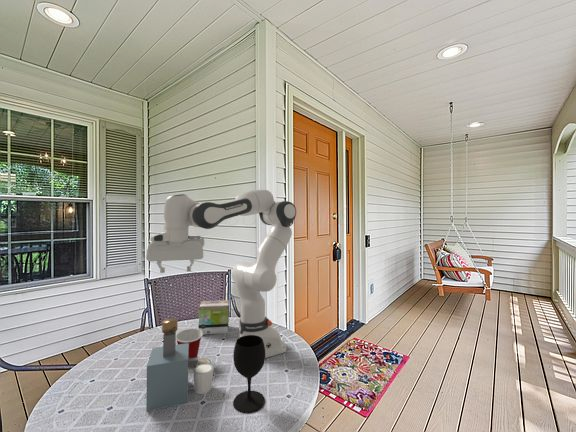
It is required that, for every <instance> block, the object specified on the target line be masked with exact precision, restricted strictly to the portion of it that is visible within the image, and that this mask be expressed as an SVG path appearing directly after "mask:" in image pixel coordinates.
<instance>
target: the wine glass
mask: <svg viewBox="0 0 576 432" xmlns="http://www.w3.org/2000/svg"><path fill="white" fill-rule="evenodd" d="M239 337H240V336H239ZM239 337H238V338H237V339H236V341H235V345H234V348H233V355H232V356H233V357H232V358H233V359H232V360H233V364H234V368H235V370H236V371H237V373H238V374H240V375H241V376H242V377H244V378H246V381H247V390H245V391H242V392H239V393H238V394H237V395H236V396H235V397H234V398H233V402H232V405H233V408H234V409H235V410H236V411H237V412H239V413H242V414H252V413H256V412H258V411H259V410H261V409H262V408H263V407H264V405H265V402H266V400H265V396H264V395H263V394H262V393H261V392H259V391H257V390H251V386H252V378H254V377H256V376H257V375H258V374H259V373H260V372H261V370H262V369H263V367H264V365H265V361H266V358H265V346H264V342H263V339H262V338H261V337H259V336H256V335H246V336H242V337H240V338H239Z"/></svg>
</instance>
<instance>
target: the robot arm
mask: <svg viewBox="0 0 576 432" xmlns="http://www.w3.org/2000/svg"><path fill="white" fill-rule="evenodd" d="M274 198H275V197H274V196H273V194H272V192H271V191H269V190H268V189H255V190H248V191H245V192H242V193H239V194H237V195H236V197H235V198H234V200H232V201H228V202H224V203H215V202H210V201H209V202H207V201H206V202H202V203H200V202H198V201H195V200H193V199H192V198H190V197H189V196H188V195H187V194H184V193H183V194H182V193H181V194H173V195H169V196H167V197H166V199H165V202H164V209H163V210H164V211H163V218H164V226H163V232H158V233H156V234H153V235H151V236H150V239H149V240H150V242H149V244H148V246H147V249H146V257H145V258H146V260H147V261H148V262H156V265H157V266H158V267H159V273H160V274H164V273H166V272H165V271H166V268H165V267H163V266H162V262H168V261H170V262H171V261H189V262H190V264H189V265H187V266H186V272H191V271H192V267H193V265H194V262H195V261H196V260H202V259H203V258H204V248H203V247H204V246H205V238H204V237H202V236H201V235H189V227H190V226H192V227H195V228H202V229H205V230H210V229H214V228H216V227H217V226H218V225H220V223H222V222H224V221H225V220H228V219H231V218H234V217H238V216H245V217H247V216H252V215H256V214H258V215H259V218H260V221H261V222H262V223H263V224H264V225H268V226H271V227H270V230H269V232H268V233H267V234H266V236H265V237H264V239H263V240H262V241H261V244H260V245H259V246H258V248H257V252H256V253H257V256H258V257H257V259H256V261H255V263H252V262H248V261H247V262H246V261H245V262H240V263H237V264H235V265H234V266H233V268H232V271H231V278H232V281H233V282H234V283H235V286H236V288H237V292H238V298H239V303H240V318H239V323H238V331H239V337H238V338H240V337H242V336H246V335H256V336H259V337H261V338H262V339H263V342H264V346H265V359H267V358H271V357H274V356H277V355H280V354H283V353H284V354H285V353H286V352H287V344H286V343H285V342H284V341H283V340H282V339H281V338H282V337H281V335H280V333H279V332H278V331H277V329H275V328H274V327H273V326H272V325H273V322H272V321H271V320H270V319H269V318H268V317H267V316H266V302H265V299H264V297H263V296H262V292H263V293H264V292H270V291H272V290H273V289H274V287H275V286H276V283H277V274H276V267H277V264H278V261H279V259H280V258H281V256H282V254H283V253H284V251H285V249H286V247H287V246H288V244H289V242H290V241H291V237H292V235H293V231H292V228H291V226H292V225H293V224H294V222H295V219H296V216H297V207H296V205H295V204H294V203H293V202H291V201H289V200H283V201H277V202H276V201H275V200H274Z"/></svg>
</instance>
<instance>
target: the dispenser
mask: <svg viewBox="0 0 576 432" xmlns="http://www.w3.org/2000/svg"><path fill="white" fill-rule="evenodd" d="M176 332H177V331H175V332H173V333H172V334H169V335H167V333H163V336H162V337H163V338H162V339H163V342H162V345H163V346H159V347H152V349H151V352H150V355H149V359H148V362H147V363H146V364H147V365H146V395H145V396H146V401H145V402H146V405H145V406H146V407H145V408H146V409H145V410H146V412H150V411H155V410H159V409H163V408H168V407H169V408H170V407H174V406H178V405H183V404H188V403H189V400H188V399H189V367H192V368H193V369H194V368H197V366H198V362H199V361H198V356H197V357H195V358H189V343H185V344H178V343H177V340H176V334H177V333H176ZM176 343H177V344H176Z"/></svg>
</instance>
